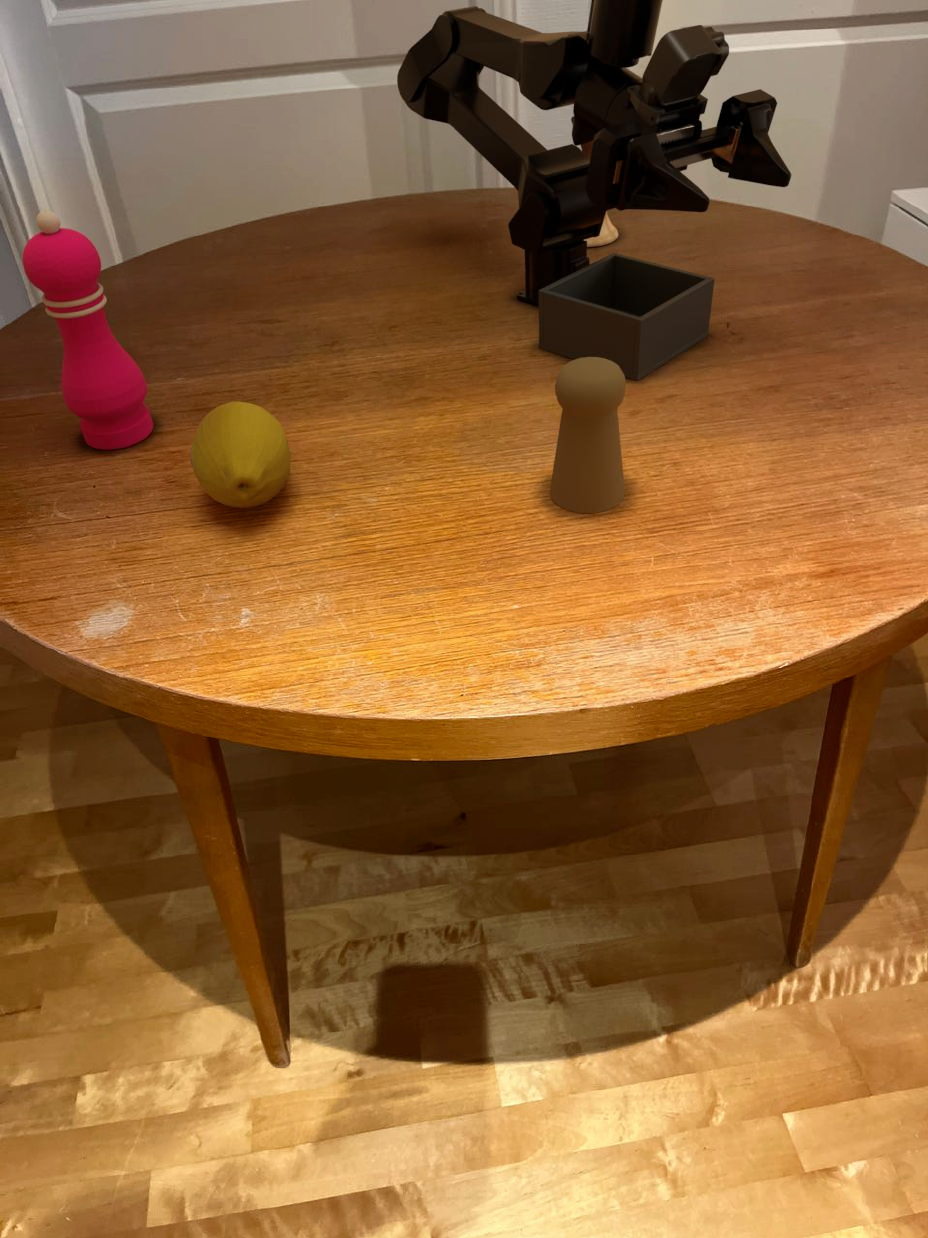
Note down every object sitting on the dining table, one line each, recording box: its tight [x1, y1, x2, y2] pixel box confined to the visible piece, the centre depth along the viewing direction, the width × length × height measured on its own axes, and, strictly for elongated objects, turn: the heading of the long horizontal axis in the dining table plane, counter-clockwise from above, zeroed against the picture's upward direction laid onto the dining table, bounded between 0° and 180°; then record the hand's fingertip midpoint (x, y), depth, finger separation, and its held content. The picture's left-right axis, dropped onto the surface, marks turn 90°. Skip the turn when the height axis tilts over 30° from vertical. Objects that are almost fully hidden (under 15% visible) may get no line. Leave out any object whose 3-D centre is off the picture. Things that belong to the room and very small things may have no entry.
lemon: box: [190, 401, 292, 509], centre depth 76 cm, size 11×8×8 cm
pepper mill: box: [22, 210, 154, 451], centre depth 82 cm, size 7×7×20 cm
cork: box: [548, 357, 627, 514], centre depth 73 cm, size 6×6×11 cm
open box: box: [538, 252, 715, 382], centre depth 94 cm, size 12×12×6 cm
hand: (748, 193), depth 78 cm, fingers open, 9 cm apart
